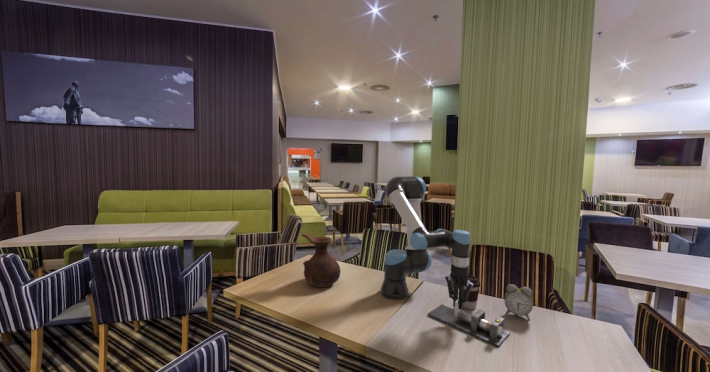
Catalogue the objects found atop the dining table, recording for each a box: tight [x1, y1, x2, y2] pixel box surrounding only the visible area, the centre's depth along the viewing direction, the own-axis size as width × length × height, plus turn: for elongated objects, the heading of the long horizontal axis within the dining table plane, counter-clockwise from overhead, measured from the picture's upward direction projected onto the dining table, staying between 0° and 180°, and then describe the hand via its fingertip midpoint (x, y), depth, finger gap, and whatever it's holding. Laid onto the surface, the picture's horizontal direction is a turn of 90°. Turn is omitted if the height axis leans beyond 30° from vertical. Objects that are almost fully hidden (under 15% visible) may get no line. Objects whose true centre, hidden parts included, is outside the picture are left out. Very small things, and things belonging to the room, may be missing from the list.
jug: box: [301, 232, 341, 288], centre depth 170 cm, size 22×22×30 cm
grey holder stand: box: [427, 304, 511, 348], centre depth 130 cm, size 32×13×8 cm, turn 44°
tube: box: [457, 310, 503, 337], centre depth 126 cm, size 18×4×4 cm, turn 44°
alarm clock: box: [504, 283, 534, 321], centre depth 138 cm, size 12×7×15 cm, turn 62°
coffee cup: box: [462, 274, 481, 310], centre depth 147 cm, size 10×10×15 cm
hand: (457, 314), depth 133 cm, fingers closed
